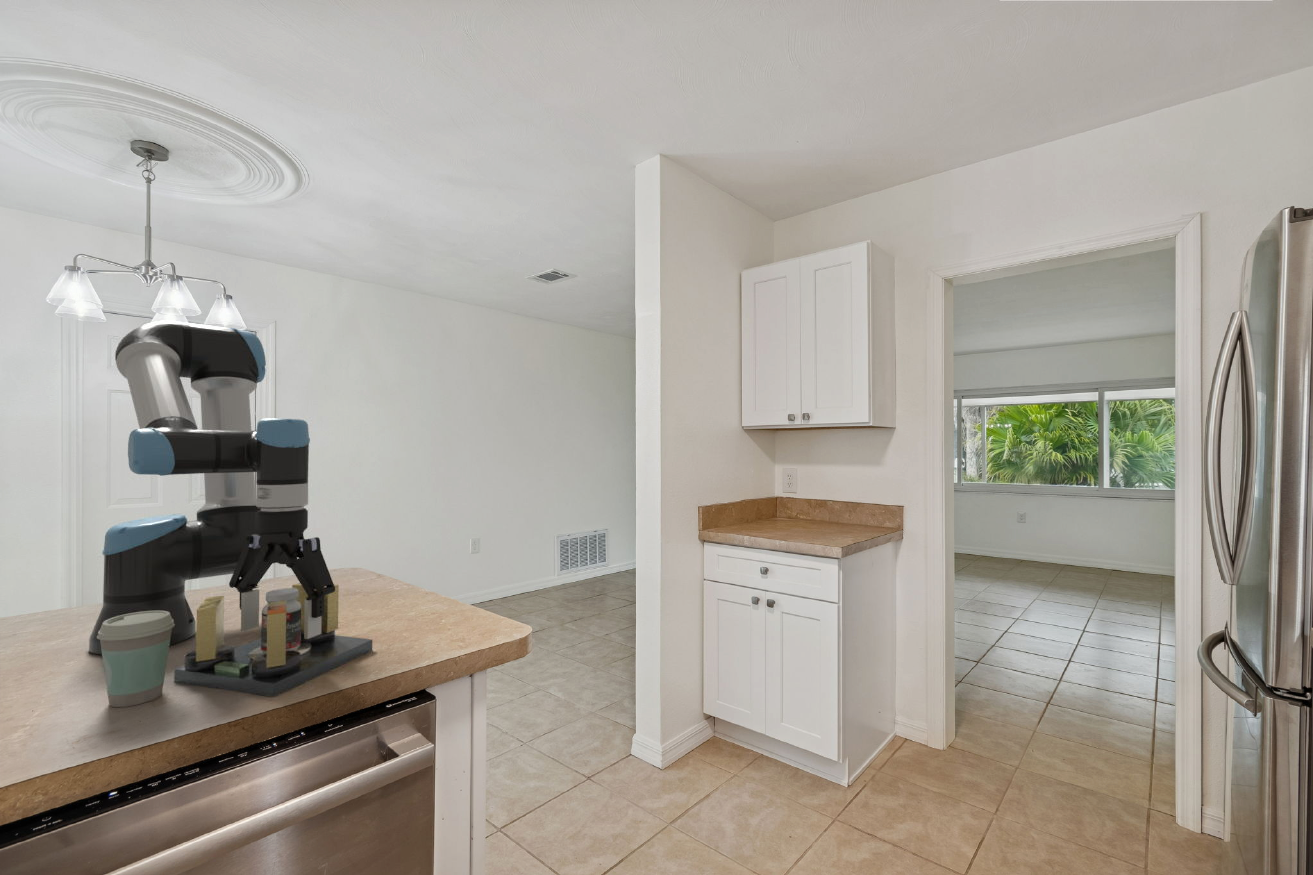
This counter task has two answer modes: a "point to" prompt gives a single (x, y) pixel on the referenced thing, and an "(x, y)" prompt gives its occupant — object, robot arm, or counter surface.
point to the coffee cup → (135, 656)
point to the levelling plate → (241, 680)
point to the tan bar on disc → (276, 647)
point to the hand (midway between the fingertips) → (280, 632)
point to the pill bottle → (291, 617)
